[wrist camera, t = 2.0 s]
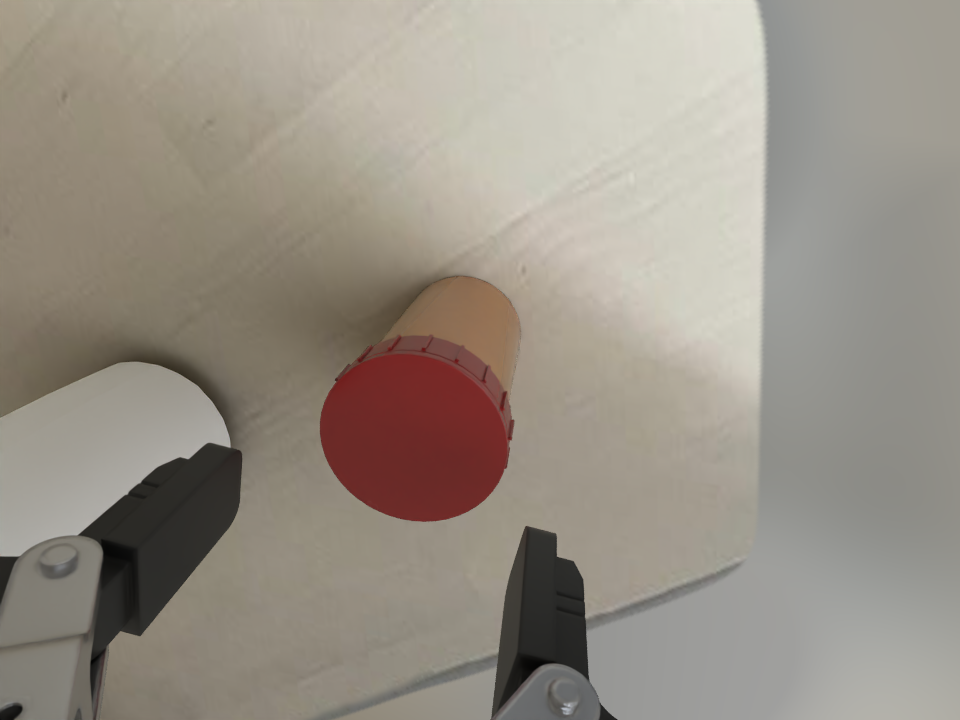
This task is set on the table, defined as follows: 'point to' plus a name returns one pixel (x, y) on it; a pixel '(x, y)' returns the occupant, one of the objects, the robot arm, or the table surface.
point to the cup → (95, 447)
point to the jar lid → (417, 428)
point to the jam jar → (467, 322)
